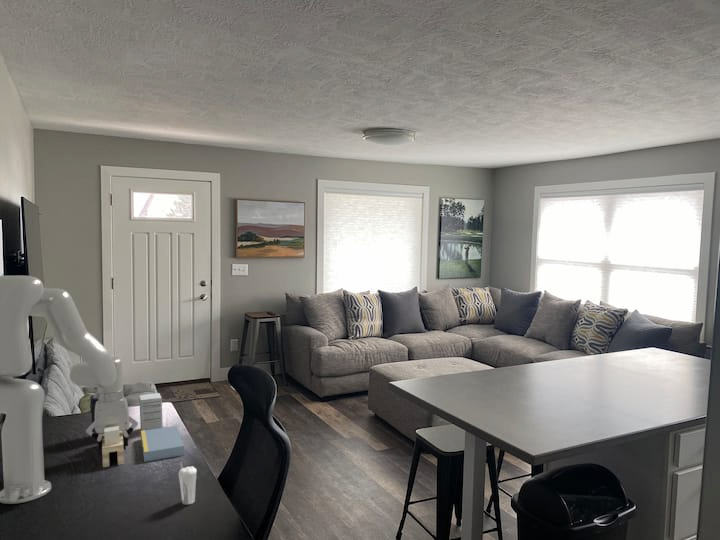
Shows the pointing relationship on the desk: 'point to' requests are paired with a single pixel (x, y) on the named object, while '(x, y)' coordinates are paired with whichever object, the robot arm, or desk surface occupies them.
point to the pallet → (112, 448)
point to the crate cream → (111, 435)
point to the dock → (161, 443)
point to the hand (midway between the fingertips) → (113, 449)
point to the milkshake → (187, 484)
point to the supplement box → (151, 411)
